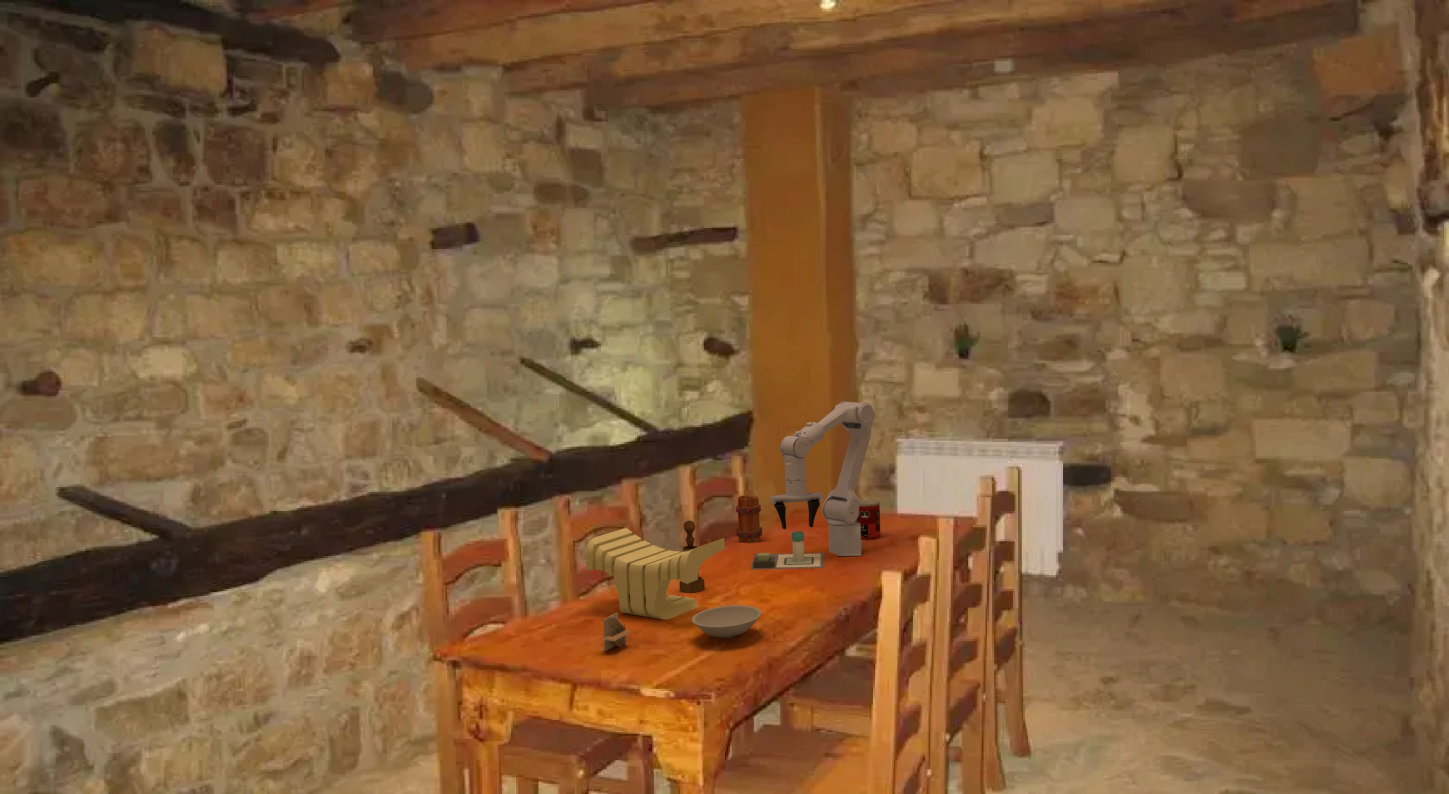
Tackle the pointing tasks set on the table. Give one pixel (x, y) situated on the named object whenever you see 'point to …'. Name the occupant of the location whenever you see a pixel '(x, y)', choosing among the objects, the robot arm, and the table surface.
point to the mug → (748, 518)
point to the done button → (763, 557)
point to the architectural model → (614, 632)
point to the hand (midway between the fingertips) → (797, 527)
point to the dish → (726, 620)
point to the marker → (798, 546)
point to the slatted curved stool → (647, 572)
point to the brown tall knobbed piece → (689, 528)
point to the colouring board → (789, 561)
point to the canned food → (869, 519)
